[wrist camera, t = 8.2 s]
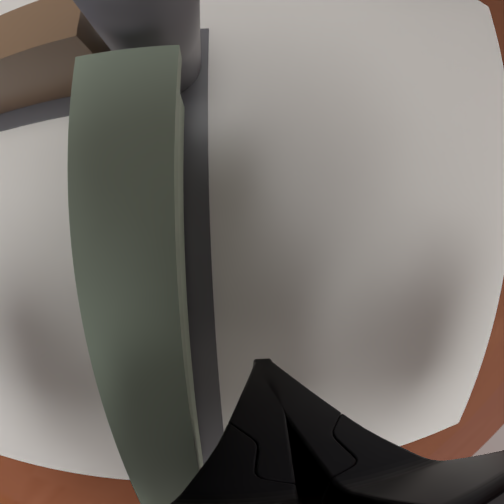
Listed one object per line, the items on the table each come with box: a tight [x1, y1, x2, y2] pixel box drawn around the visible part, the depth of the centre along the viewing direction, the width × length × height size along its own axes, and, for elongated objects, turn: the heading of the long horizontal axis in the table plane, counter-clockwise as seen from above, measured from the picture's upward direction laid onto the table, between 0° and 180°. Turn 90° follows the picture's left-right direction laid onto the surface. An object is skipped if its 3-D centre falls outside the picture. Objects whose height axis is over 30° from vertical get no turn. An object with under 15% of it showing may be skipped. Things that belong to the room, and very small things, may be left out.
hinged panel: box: [67, 45, 203, 504], centre depth 7 cm, size 12×2×4 cm, turn 0°
